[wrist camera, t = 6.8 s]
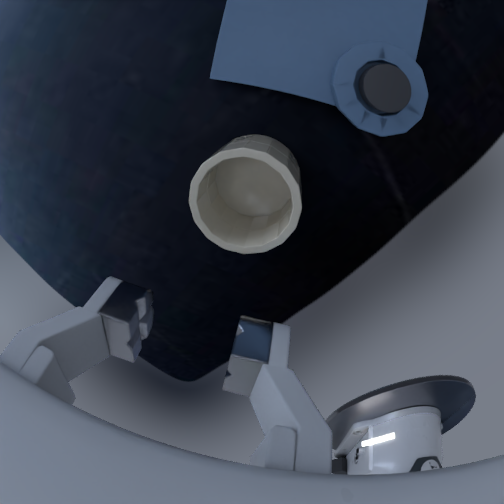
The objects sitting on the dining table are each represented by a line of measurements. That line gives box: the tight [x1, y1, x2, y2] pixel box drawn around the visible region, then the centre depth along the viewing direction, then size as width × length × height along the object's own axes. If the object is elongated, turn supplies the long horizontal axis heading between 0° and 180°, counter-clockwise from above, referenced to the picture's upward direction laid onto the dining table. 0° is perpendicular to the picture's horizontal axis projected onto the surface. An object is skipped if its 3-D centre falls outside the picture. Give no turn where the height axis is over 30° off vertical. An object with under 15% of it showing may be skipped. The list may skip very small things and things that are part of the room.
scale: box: [210, 0, 428, 137], centre depth 13 cm, size 14×13×3 cm
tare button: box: [359, 64, 411, 113], centre depth 13 cm, size 3×3×1 cm
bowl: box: [189, 135, 302, 254], centre depth 19 cm, size 6×6×5 cm
